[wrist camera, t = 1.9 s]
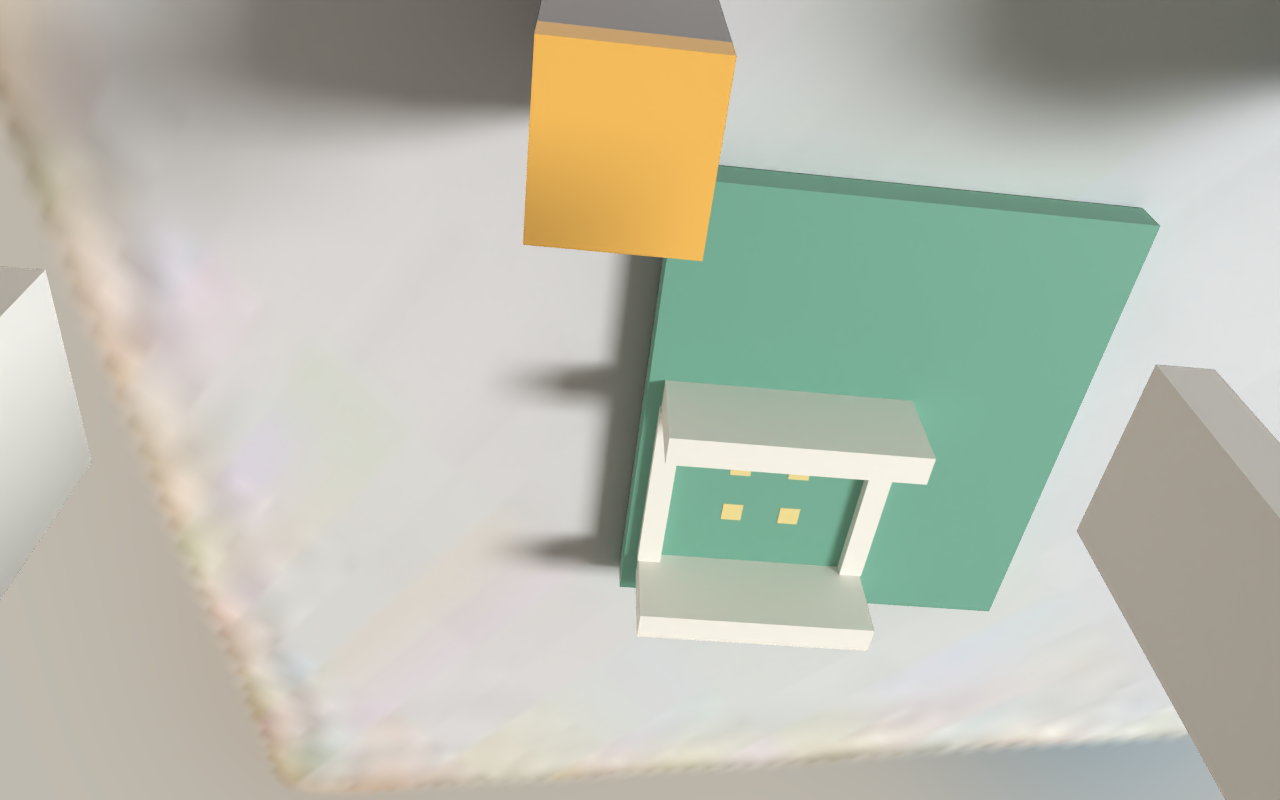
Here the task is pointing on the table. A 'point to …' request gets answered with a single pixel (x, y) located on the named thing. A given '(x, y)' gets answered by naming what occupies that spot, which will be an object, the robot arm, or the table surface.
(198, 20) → the table surface
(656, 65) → the plug
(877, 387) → the board
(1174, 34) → the table surface
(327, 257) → the table surface
